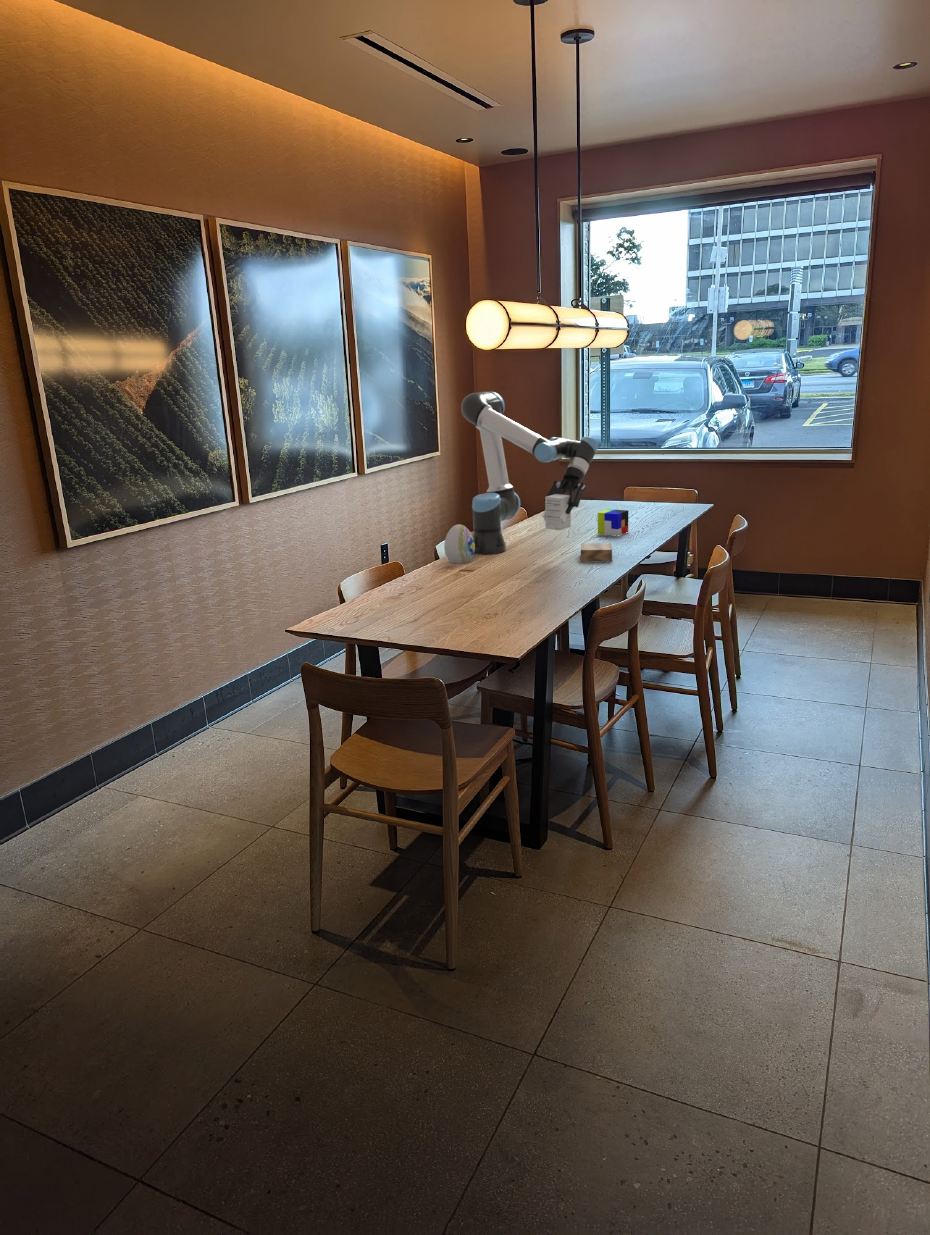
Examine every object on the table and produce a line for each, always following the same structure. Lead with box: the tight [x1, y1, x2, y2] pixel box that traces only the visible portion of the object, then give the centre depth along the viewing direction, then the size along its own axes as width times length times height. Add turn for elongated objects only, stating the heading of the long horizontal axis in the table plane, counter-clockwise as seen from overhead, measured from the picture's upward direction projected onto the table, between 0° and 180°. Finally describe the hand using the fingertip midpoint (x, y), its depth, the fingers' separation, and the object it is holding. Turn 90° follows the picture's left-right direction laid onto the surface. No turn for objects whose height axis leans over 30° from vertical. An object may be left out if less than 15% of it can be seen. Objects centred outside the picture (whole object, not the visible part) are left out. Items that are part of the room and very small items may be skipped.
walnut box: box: [580, 542, 613, 563], centre depth 331 cm, size 12×12×5 cm
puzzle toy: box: [597, 508, 629, 537], centre depth 375 cm, size 10×10×10 cm
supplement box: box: [544, 494, 572, 531], centre depth 325 cm, size 7×7×13 cm
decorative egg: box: [443, 523, 475, 564], centre depth 335 cm, size 12×12×15 cm
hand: (553, 519), depth 323 cm, fingers closed on supplement box, 7 cm apart
